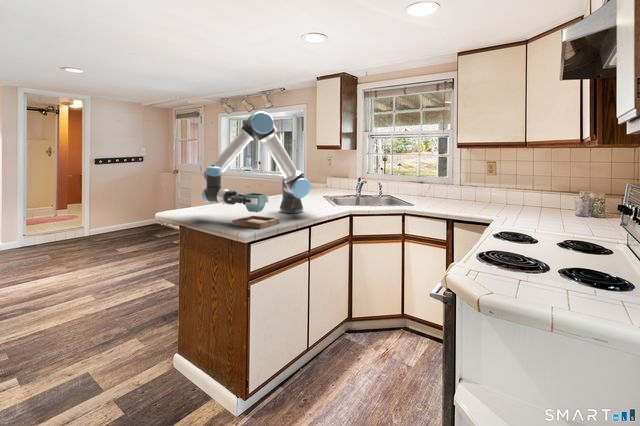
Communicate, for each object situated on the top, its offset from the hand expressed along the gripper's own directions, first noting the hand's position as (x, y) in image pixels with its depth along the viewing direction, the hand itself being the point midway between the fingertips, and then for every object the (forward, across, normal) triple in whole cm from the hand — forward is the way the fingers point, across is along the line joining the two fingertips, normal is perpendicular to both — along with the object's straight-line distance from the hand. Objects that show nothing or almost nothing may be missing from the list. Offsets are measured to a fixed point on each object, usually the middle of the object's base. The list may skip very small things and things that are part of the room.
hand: (262, 200), depth 177 cm
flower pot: (-5, 0, -6) cm, 8 cm away
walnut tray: (-4, 0, -12) cm, 13 cm away
